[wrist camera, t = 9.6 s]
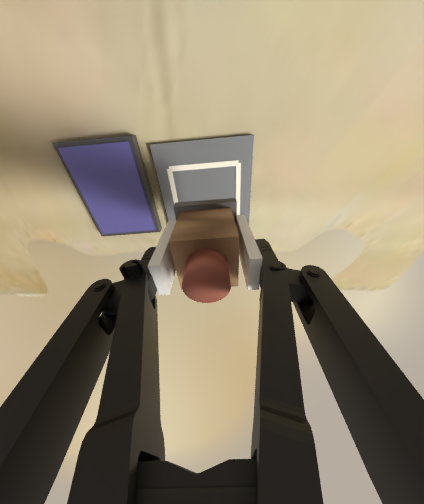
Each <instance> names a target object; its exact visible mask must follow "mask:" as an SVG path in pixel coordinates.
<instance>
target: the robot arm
mask: <svg viewBox="0 0 424 504" xmlns="http://www.w3.org/2000/svg"><path fill="white" fill-rule="evenodd" d="M175 223H176V220H169V221H168V223H167V225H166V227H165V230H164V232H163V234H162V236H161V238H160V240H159V242H158V245H157V247H150V248H149V249H148V250H147V251H146V252H145V253H144V255H143V257H142V260H141V261H140V260H130V261H127V262H126V263H124V264H123V265H121V267H120V268H119V269H120V271H121V273H122V275H123V277H124V280H122V281H119V282H115V283H112V282H111V280H109V279H102V280H98V281H96V282H95V283H93V284H92V285H91V286H90V287H89V288H88V289H87V290H86V292H85V293H84V295H83V296H82V297H81V299H80V300H79V301H78V303H77V304H76V305H75V307H74V308H73V309H72V311H71V312H70V314H69V315H68V316H67V318H66V319H65V320H64V322H63V323H62V324H61V326H60V327H59V328H58V330H57V331H56V333H55V334H54V335H53V337H52V338H51V339H50V341H49V342H48V343H47V345H46V346H45V347H44V349H43V350H42V352H41V353H40V354H39V356H38V357H37V358H36V360H35V361H34V362H33V364H32V365H31V366H30V368H29V369H28V371H27V372H26V373H25V375H24V376H23V377H22V379H21V380H20V381H19V383H18V384H17V385H16V387H15V388H14V390H13V391H12V392H11V394H10V395H9V396H8V398H7V399H6V400H5V402H4V403H3V404H2V406H1V407H0V504H44V503H45V500H46V498H47V496H48V494H49V492H50V490H51V487H52V485H53V483H54V481H55V479H56V476H57V474H58V472H59V469H60V467H61V464H62V462H63V460H64V457H65V455H66V452H67V450H68V448H69V445H70V443H71V441H72V438H73V436H74V434H75V431H76V429H77V427H78V424H79V422H80V420H81V417H82V415H83V413H84V410H85V408H86V405H87V403H88V401H89V398H90V396H91V394H92V391H93V389H94V386H95V384H96V382H97V380H98V377H99V375H100V373H101V370H102V368H103V366H104V363H105V361H106V359H107V356H108V354H109V351H110V355H109V359H108V364H107V369H106V374H105V380H104V384H103V390H102V395H101V400H100V405H99V410H98V415H97V419H96V422H95V424H94V426H93V427H92V428H91V429H90V430H89V431H88V432H87V433H86V435H85V437H84V439H83V441H82V445H81V448H80V451H79V455H78V459H77V463H76V468H75V472H74V476H73V481H72V485H71V490H70V494H69V498H68V502H67V504H323V498H322V492H321V485H320V477H319V471H318V464H317V457H316V449H315V443H314V438H313V433H312V430H311V427H310V425H309V423H308V421H307V419H306V416H305V410H304V403H303V395H302V387H301V379H300V371H299V362H298V354H297V347H296V339H295V330H294V322H293V314H292V307H291V301H292V302H293V304H294V306H295V308H296V310H297V313H298V315H299V317H300V319H301V322H302V324H303V326H304V329H305V331H306V333H307V335H308V338H309V340H310V342H311V344H312V347H313V349H314V351H315V354H316V356H317V358H318V360H319V363H320V365H321V367H322V369H323V372H324V374H325V376H326V379H327V381H328V383H329V385H330V387H331V390H332V392H333V394H334V397H335V399H336V401H337V404H338V406H339V408H340V410H341V413H342V415H343V417H344V419H345V422H346V424H347V426H348V428H349V431H350V433H351V435H352V438H353V440H354V442H355V444H356V447H357V449H358V451H359V453H360V456H361V458H362V460H363V462H364V465H365V467H366V469H367V472H368V474H369V476H370V478H371V480H372V482H373V484H374V486H375V489H376V491H377V493H378V495H379V497H380V499H381V501H382V503H383V504H424V400H423V398H422V397H421V396H420V394H419V393H418V392H417V390H416V389H415V388H414V386H412V384H411V383H410V381H409V380H408V379H407V378H406V376H405V375H404V373H403V372H402V371H401V370H400V368H399V367H398V366H397V364H396V363H395V362H394V360H393V359H392V358H391V357H390V355H389V354H388V353H387V351H386V350H385V349H384V347H383V346H382V345H381V344H380V342H379V341H378V340H377V338H376V337H375V336H374V335H373V333H372V332H371V331H370V329H369V328H368V327H367V325H366V324H365V323H364V322H363V320H362V319H361V318H360V316H359V315H358V314H357V312H356V311H355V310H354V308H353V307H352V306H351V305H350V303H349V302H348V301H347V300H346V298H345V297H344V295H343V294H342V293H341V292H340V290H339V289H338V288H337V286H336V285H335V284H334V282H333V281H332V280H331V278H330V277H329V276H328V275H327V273H326V272H325V271H324V270H323V269H321V268H319V267H316V266H311V265H307V266H304V267H302V269H301V271H299V270H293V269H288V268H286V265H285V264H283V263H282V262H280V261H278V259H277V257H276V255H275V254H274V252H273V250H272V248H271V246H270V244H269V242H267V241H266V240H265V239H256V240H255V239H254V236H253V234H252V232H251V229H250V227H249V224H248V222H247V220H246V217H245V215H237V216H236V227H237V231H238V234H239V256H240V260H241V264H242V268H243V272H244V276H245V281H246V285H247V289H248V290H256V289H259V284H260V287H261V293H260V311H259V329H258V348H257V368H256V385H255V386H256V387H255V405H254V422H253V432H252V446H251V459H232V460H227V461H225V462H223V463H220V464H218V465H216V466H214V467H212V468H210V469H207V470H205V471H203V472H201V473H195V472H192V471H190V470H188V469H185V468H183V467H181V466H178V465H176V464H173V463H170V462H168V461H165V447H164V437H163V432H162V428H161V421H160V389H159V356H158V321H157V299H156V296H155V294H156V291H158V294H159V295H169V294H170V291H171V287H172V283H173V279H174V275H175V271H176V268H175V264H174V260H173V256H172V253H171V249H170V245H169V239H170V236H171V234H172V231H173V229H174V226H175ZM101 313H102V314H101ZM100 314H101V316H100ZM99 316H100V317H99Z"/></svg>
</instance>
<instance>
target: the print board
mask: <svg viewBox="0 0 424 504" xmlns="http://www.w3.org/2000/svg"><path fill="white" fill-rule="evenodd" d="M253 140H254V135H245V136H234V137H224V138H213V139H202V140H192V141H181V142H170V143H160V144H150V149H151V153H152V157H153V161H154V165H155V169H156V173H157V177H158V181H159V185H160V189H161V193H162V197H163V201H164V205H165V209H166V213H167V217H168V221H169V220H176V217H175V213H174V208H173V206H174V204H175V203H176V202H189V201H201V200H214V199H227V198H236V201H237V215H245V217H246V220H247V222H248V224H249V211H250V193H251V175H252V157H253Z"/></svg>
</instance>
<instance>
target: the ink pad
mask: <svg viewBox="0 0 424 504" xmlns="http://www.w3.org/2000/svg"><path fill="white" fill-rule="evenodd" d="M53 145H54V147H55V149H56V151H57V153H58V155H59V156H60V158H61V160H62V162H63V164H64V166H65V168H66V170H67V172H68V173H69V175H70V177H71V179H72V181H73V183H74V185H75V187H76V188H77V190H78V192H79V194H80V196H81V198H82V200H83V202H84V204H85V205H86V207H87V209H88V211H89V213H90V215H91V217H92V219H93V221H94V222H95V224H96V226H97V228H98V230H99V232H100V234H101V236H112V235H125V234H138V233H151V232H160V231H161V229H162V227H161V224H160V220H159V216H158V213H157V209H156V206H155V202H154V199H153V195H152V192H151V188H150V184H149V181H148V177H147V174H146V170H145V167H144V163H143V160H142V156H141V152H140V149H139V145H138V142H137V138H136V135H130V136H120V137H110V138H99V139H89V140H78V141H68V142H57V143H53Z"/></svg>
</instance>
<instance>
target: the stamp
mask: <svg viewBox="0 0 424 504" xmlns="http://www.w3.org/2000/svg"><path fill="white" fill-rule="evenodd" d="M173 208H174V213H175V217H176V223H175V226H174V229H173V231H172V234H171V236H170V239H169V245H170V249H171V253H172V256H173V260H174V264H175V268H176V271H177V275H178V279H179V283H180V286H181V289H183V292H184V293H185V295H187V296H188V297H189V298H190V299H192V300H194V301H197V302H202V303H211V302H216V301H219V300H221V299H223V298H224V297H225V296H227V294H228V293H229V291H230V289H231V286H238V267H239V266H238V265H239V234H238V231H237V227H236V216H237V201H236V198H227V199H214V200H201V201H189V202H176V203H175V204H174V206H173Z"/></svg>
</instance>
